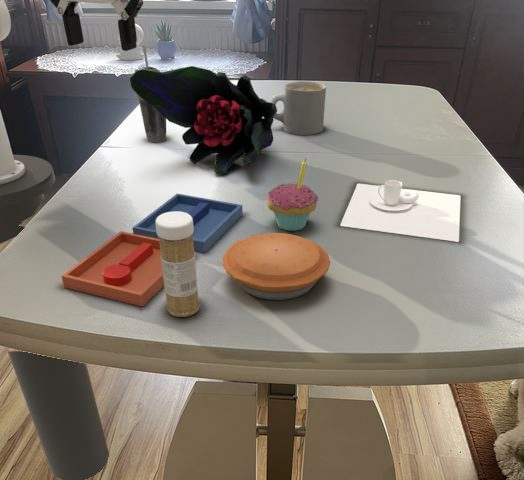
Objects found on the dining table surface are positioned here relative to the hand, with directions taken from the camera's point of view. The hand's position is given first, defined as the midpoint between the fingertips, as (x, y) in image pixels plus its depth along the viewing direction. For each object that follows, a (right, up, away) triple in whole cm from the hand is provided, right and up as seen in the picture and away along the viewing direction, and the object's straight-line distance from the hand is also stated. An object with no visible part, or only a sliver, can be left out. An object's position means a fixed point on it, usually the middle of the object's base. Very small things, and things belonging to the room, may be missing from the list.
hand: (102, 46), depth 84 cm
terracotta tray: (+5, -35, -1) cm, 35 cm away
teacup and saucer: (+51, -21, +17) cm, 57 cm away
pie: (+27, -36, -3) cm, 45 cm away
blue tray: (+12, -25, +11) cm, 30 cm away
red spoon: (+5, -34, -1) cm, 35 cm away
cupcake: (+30, -25, +12) cm, 40 cm away
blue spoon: (+12, -25, +11) cm, 30 cm away
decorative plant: (+16, -7, +34) cm, 38 cm away
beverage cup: (-1, +4, +47) cm, 47 cm away
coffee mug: (+33, +9, +54) cm, 64 cm away
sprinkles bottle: (+14, -41, -9) cm, 44 cm away
